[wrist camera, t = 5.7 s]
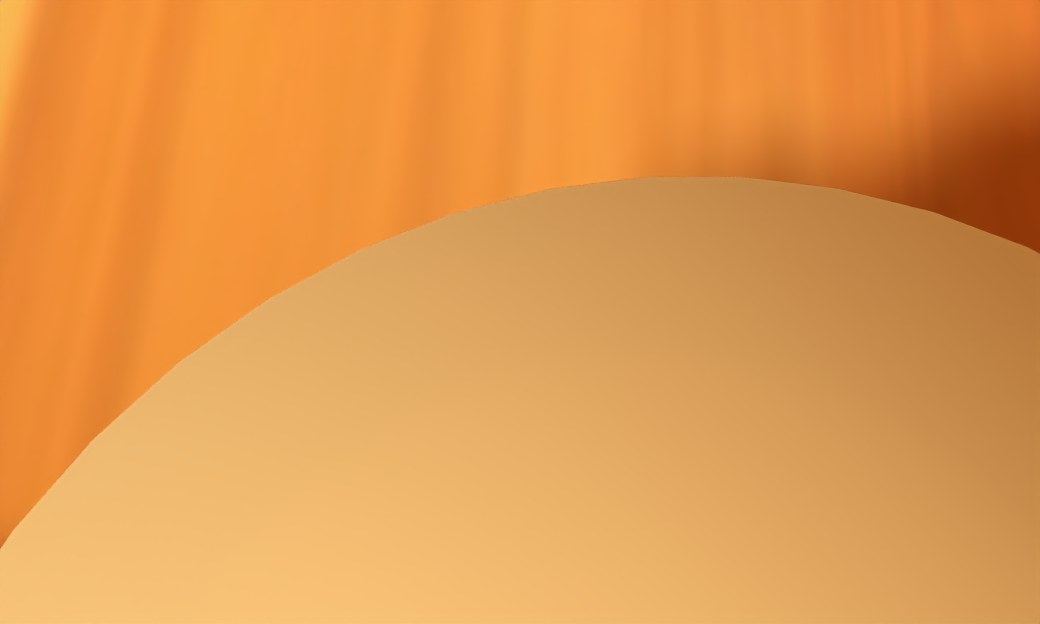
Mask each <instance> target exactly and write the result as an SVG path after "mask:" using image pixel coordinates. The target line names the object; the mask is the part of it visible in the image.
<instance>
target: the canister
mask: <svg viewBox="0 0 1040 624" xmlns="http://www.w3.org/2000/svg"><path fill="white" fill-rule="evenodd" d="M0 624H1040V253H1038V252H1036V251H1034V250H1032V249H1030V248H1028V247H1026V246H1023V245H1021V244H1018V243H1015V242H1012V241H1010V240H1007V239H1004V238H1002V237H999V236H996V235H994V234H991V233H988V232H986V231H983V230H980V229H978V228H975V227H972V226H970V225H967V224H964V223H962V222H959V221H956V220H954V219H951V218H948V217H946V216H943V215H940V214H938V213H935V212H932V211H928V210H923V209H919V208H915V207H911V206H907V205H903V204H899V203H895V202H891V201H887V200H883V199H879V198H875V197H871V196H867V195H863V194H859V193H855V192H850V191H846V190H842V189H838V188H830V187H821V186H813V185H805V184H797V183H789V182H781V181H773V180H765V179H756V178H748V177H641V178H633V179H624V180H616V181H608V182H600V183H592V184H584V185H576V186H568V187H560V188H552V189H547V190H543V191H539V192H535V193H531V194H527V195H523V196H519V197H515V198H511V199H507V200H503V201H499V202H495V203H491V204H487V205H483V206H479V207H476V208H472V209H468V210H464V211H460V212H456V213H453V214H450V215H447V216H445V217H442V218H440V219H437V220H435V221H432V222H429V223H427V224H424V225H422V226H419V227H417V228H414V229H412V230H409V231H406V232H404V233H401V234H399V235H396V236H394V237H391V238H388V239H386V240H383V241H381V242H378V243H376V244H373V245H370V246H368V247H365V248H363V249H360V250H358V251H356V252H354V253H353V254H351V255H349V256H347V257H345V258H343V259H341V260H340V261H338V262H336V263H334V264H332V265H330V266H329V267H327V268H325V269H323V270H321V271H319V272H317V273H316V274H314V275H312V276H310V277H308V278H306V279H304V280H303V281H301V282H299V283H297V284H295V285H293V286H291V287H290V288H288V289H286V290H284V291H282V292H280V293H278V294H277V295H275V296H273V297H271V298H269V299H267V300H266V301H265V302H263V303H262V304H260V305H259V306H257V307H256V308H255V309H253V310H252V311H250V312H249V313H248V314H246V315H245V316H243V317H242V318H240V319H239V320H238V321H236V322H235V323H233V324H232V325H231V326H229V327H228V328H226V329H225V330H223V331H222V332H221V333H219V334H218V335H216V336H215V337H214V338H212V339H211V340H209V341H208V342H207V343H205V344H204V345H202V346H201V347H199V348H198V349H197V350H195V351H194V352H192V353H191V354H190V355H188V356H187V357H185V358H184V359H182V360H181V361H180V362H178V363H177V364H176V365H175V366H174V367H173V368H172V369H170V370H169V371H168V372H167V373H166V374H165V375H164V376H163V377H162V378H161V379H159V380H158V381H157V382H156V383H155V384H154V385H153V386H152V387H151V388H149V389H148V390H147V391H146V392H145V393H144V394H143V395H142V396H141V397H139V398H138V399H137V400H136V401H135V402H134V403H133V404H132V405H131V406H130V407H128V408H127V409H126V410H125V411H124V412H123V413H122V414H121V415H120V416H118V417H117V418H116V419H115V420H114V421H113V422H112V423H111V424H110V425H108V426H107V427H106V428H105V429H104V430H103V431H102V432H101V433H100V434H99V435H97V436H96V437H95V438H94V439H93V440H92V441H91V442H90V444H89V445H88V446H87V447H86V448H85V449H84V450H83V451H82V453H81V454H80V455H79V456H78V457H77V458H76V459H75V461H74V462H73V463H72V464H71V465H70V466H69V467H68V469H67V470H66V471H65V472H64V473H63V474H62V475H61V477H60V478H59V479H58V480H57V481H56V482H55V483H54V485H53V486H52V487H51V488H50V489H49V490H48V491H47V493H46V494H45V495H44V496H43V497H42V498H41V499H40V501H39V502H38V503H37V504H36V505H35V506H34V507H33V509H32V510H31V511H30V512H29V513H28V514H27V515H26V517H25V518H24V519H23V520H22V521H21V522H20V523H19V524H18V526H17V527H16V528H15V529H14V530H13V532H12V533H11V534H10V536H9V537H8V539H7V540H6V542H5V543H4V545H3V546H2V547H1V549H0Z"/></svg>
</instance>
